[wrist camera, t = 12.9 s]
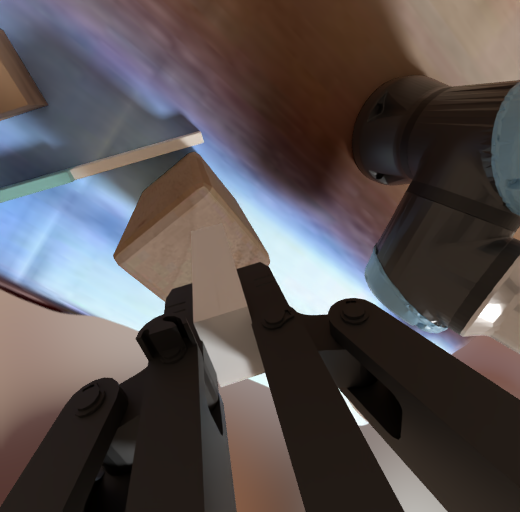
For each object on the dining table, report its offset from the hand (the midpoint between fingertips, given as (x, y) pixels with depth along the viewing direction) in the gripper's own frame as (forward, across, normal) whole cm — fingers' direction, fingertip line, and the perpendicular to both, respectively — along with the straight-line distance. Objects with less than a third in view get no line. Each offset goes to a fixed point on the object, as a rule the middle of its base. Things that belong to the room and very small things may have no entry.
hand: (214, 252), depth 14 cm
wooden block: (+29, +2, +5) cm, 30 cm away
